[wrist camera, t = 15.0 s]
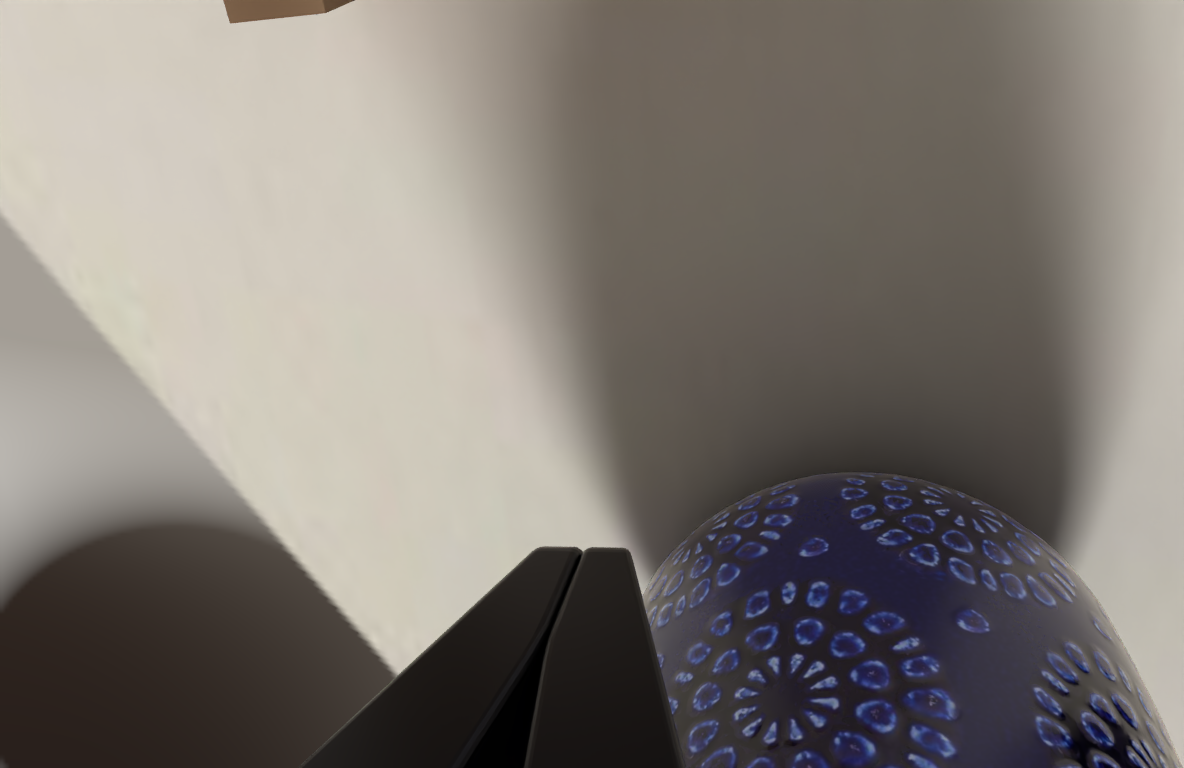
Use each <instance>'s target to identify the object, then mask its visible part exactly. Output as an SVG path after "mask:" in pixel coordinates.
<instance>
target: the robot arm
mask: <svg viewBox="0 0 1184 768" xmlns="http://www.w3.org/2000/svg"><path fill="white" fill-rule="evenodd" d="M298 768H686V765H685V761H684V757H683V753H682V750H681V746H680V742H679V738H678V734H677V730H676V726H675V722H674V719H673V715H672V711H671V707H670V703H669V699H668V695H667V691H666V687H665V684H664V680H663V676H662V672H661V668H660V664H659V660H658V656H657V653H656V649H655V645H654V641H653V637H652V633H651V629H650V625H649V621H648V618H647V614H646V610H645V606H644V602H643V598H642V594H641V590H640V587H639V583H638V579H637V575H636V571H635V567H634V563H633V559H632V556H631V553H630V552H629V550H627V549H626V548H604V547H591V548H588V549H586V550H585V551H584V552H583V551H582V550H580V549H579V548H577V547H546V546H545V547H539V548H537V549H535V550H534V551H532V552H531V553H530V554H529V555H528V556H527V557H526V558H525V559H524V560H522V561H521V562H520V563H519V564H518V565H517V566H516V567H515V568H514V569H513V570H512V571H511V572H509V573H508V574H507V575H506V576H505V577H504V578H503V579H502V580H501V581H500V582H499V583H498V584H496V585H495V586H494V587H493V588H492V589H491V590H490V591H489V592H488V593H487V594H486V595H485V596H483V597H482V598H481V599H480V600H479V601H478V602H477V603H476V604H475V605H474V606H473V607H472V608H470V609H469V610H468V611H467V612H466V613H465V614H464V615H463V616H462V617H461V618H460V619H459V620H457V621H456V622H455V623H454V624H453V625H452V626H451V627H450V628H449V629H448V630H447V631H446V632H444V633H443V634H442V635H441V636H440V637H439V638H438V639H437V640H436V641H435V642H434V643H433V644H431V645H430V646H429V647H428V648H427V649H426V650H425V651H424V652H423V653H422V654H421V655H420V656H418V657H417V658H416V659H415V660H414V661H413V662H412V663H411V664H410V665H409V666H408V667H407V668H405V669H404V670H403V671H402V672H401V673H400V674H399V675H398V676H397V677H396V678H395V679H394V680H392V681H391V682H390V683H389V684H388V685H387V686H386V687H385V688H384V689H383V690H382V691H381V692H380V693H378V694H377V695H376V696H375V697H374V698H373V699H372V700H371V701H370V702H369V703H367V705H365V706H364V707H363V708H362V709H361V710H360V711H359V712H358V713H357V714H356V715H354V716H353V717H352V718H351V719H350V720H349V721H348V722H347V723H346V724H345V725H344V726H343V727H342V728H340V729H339V731H337V732H336V733H335V734H334V735H333V736H332V737H331V738H330V739H329V740H327V741H326V742H325V743H324V744H323V745H322V746H321V747H320V748H319V749H318V750H317V751H315V752H314V753H313V754H312V755H311V756H310V757H309V758H308V759H307V760H306V761H305V762H304V763H302V764H301V765H300V766H299V767H298Z"/></svg>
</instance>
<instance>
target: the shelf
mask: <svg viewBox="0 0 1184 768" xmlns="http://www.w3.org/2000/svg"><path fill="white" fill-rule="evenodd" d="M352 1H354V0H224V4H225V7H226V11H227V14H228V18H229V21H230V23H239V22H248V21H257V20H266V19H275V18H284V17H293V16H303V15H312V14H321V13H327V12H329V11H331V10H334V9H336V8H338V7H340V6H343V5H345V4H347V3H349V2H352Z"/></svg>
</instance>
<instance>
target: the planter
mask: <svg viewBox="0 0 1184 768" xmlns="http://www.w3.org/2000/svg"><path fill="white" fill-rule="evenodd" d="M642 598H643V602H644V606H645V610H646V614H647V618H648V621H649V625H650V629H651V633H652V637H653V641H654V645H655V649H656V653H657V656H658V660H659V664H660V668H661V672H662V676H663V680H664V684H665V687H666V691H667V695H668V699H669V703H670V707H671V711H672V715H673V719H674V722H675V726H676V730H677V734H678V738H679V742H680V746H681V750H682V753H683V757H684V761H685V765H686V768H1183V767H1182V764H1181V762H1180V760H1179V758H1178V755H1177V753H1176V751H1175V748H1174V746H1173V744H1172V741H1171V739H1170V737H1169V735H1168V732H1167V730H1166V728H1165V725H1164V723H1163V721H1162V719H1161V717H1160V714H1159V712H1158V710H1157V708H1156V706H1155V704H1154V702H1153V700H1152V698H1151V696H1150V694H1149V692H1148V690H1147V688H1146V686H1145V684H1144V682H1143V680H1142V678H1141V676H1140V674H1139V672H1138V670H1137V668H1136V666H1135V664H1134V663H1133V661H1132V659H1131V657H1130V655H1129V654H1128V652H1127V650H1126V648H1125V646H1124V644H1123V643H1122V641H1121V639H1120V637H1119V635H1118V634H1117V632H1116V630H1115V628H1114V626H1113V625H1112V623H1111V621H1110V619H1109V617H1108V615H1107V614H1106V612H1105V610H1104V609H1103V607H1102V606H1101V604H1100V603H1099V601H1098V600H1097V599H1096V597H1095V596H1094V595H1093V593H1092V592H1091V591H1090V590H1089V588H1088V587H1087V586H1086V584H1085V583H1084V582H1083V581H1082V579H1081V578H1080V577H1079V576H1078V574H1077V573H1076V572H1075V570H1074V569H1073V568H1072V567H1071V566H1070V565H1069V563H1068V562H1067V561H1066V560H1065V559H1064V558H1063V557H1062V556H1061V555H1060V554H1059V553H1058V552H1057V551H1056V550H1055V549H1054V548H1052V547H1051V546H1050V545H1049V544H1048V543H1047V542H1045V541H1044V540H1043V539H1042V538H1040V537H1039V536H1038V535H1036V534H1035V533H1033V532H1032V531H1031V530H1029V529H1028V528H1026V527H1025V526H1023V525H1022V524H1020V523H1019V522H1017V521H1016V520H1014V519H1013V518H1011V517H1010V516H1008V515H1007V514H1005V513H1003V512H1002V511H1000V510H998V509H997V508H995V507H993V506H991V505H989V504H987V503H985V502H983V501H981V500H979V499H976V498H974V497H972V496H969V495H967V494H964V493H962V492H959V491H956V490H954V489H951V488H948V487H945V486H942V485H939V484H936V483H933V482H929V481H925V480H921V479H917V478H912V477H907V476H901V475H895V474H887V473H875V472H840V473H828V474H820V475H814V476H808V477H803V478H798V479H794V480H790V481H786V482H783V483H780V484H777V485H774V486H771V487H768V488H765V489H763V490H760V491H758V492H756V493H754V494H751V495H749V496H747V497H745V498H743V499H741V500H739V501H737V502H736V503H734V504H732V505H730V506H728V507H726V508H725V509H723V510H721V511H720V512H718V513H717V514H715V515H714V516H712V517H711V518H709V519H708V520H707V521H705V522H704V523H703V524H702V525H700V526H699V527H698V528H697V529H696V530H694V531H693V532H692V533H691V534H690V535H689V536H688V537H687V538H686V539H685V540H684V541H682V542H681V543H680V544H679V545H678V546H677V547H676V548H675V549H674V550H673V551H672V552H671V553H670V554H669V555H668V557H667V558H666V559H665V560H664V561H663V563H662V564H661V565H660V567H659V568H658V570H657V571H656V573H655V574H654V576H653V577H652V579H651V581H650V583H649V585H648V586H647V588H646V590H645V592H644V594H643V596H642Z"/></svg>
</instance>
